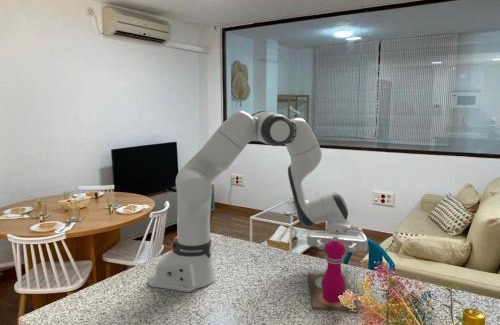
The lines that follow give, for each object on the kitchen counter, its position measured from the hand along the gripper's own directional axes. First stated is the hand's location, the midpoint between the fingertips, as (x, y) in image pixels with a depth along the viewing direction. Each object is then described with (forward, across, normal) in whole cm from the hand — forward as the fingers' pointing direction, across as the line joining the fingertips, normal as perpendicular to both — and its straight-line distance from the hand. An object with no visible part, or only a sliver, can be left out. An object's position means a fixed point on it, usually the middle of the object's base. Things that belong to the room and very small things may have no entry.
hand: (335, 248), depth 121 cm
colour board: (+2, -1, +14) cm, 14 cm away
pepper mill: (+8, 0, +13) cm, 15 cm away
